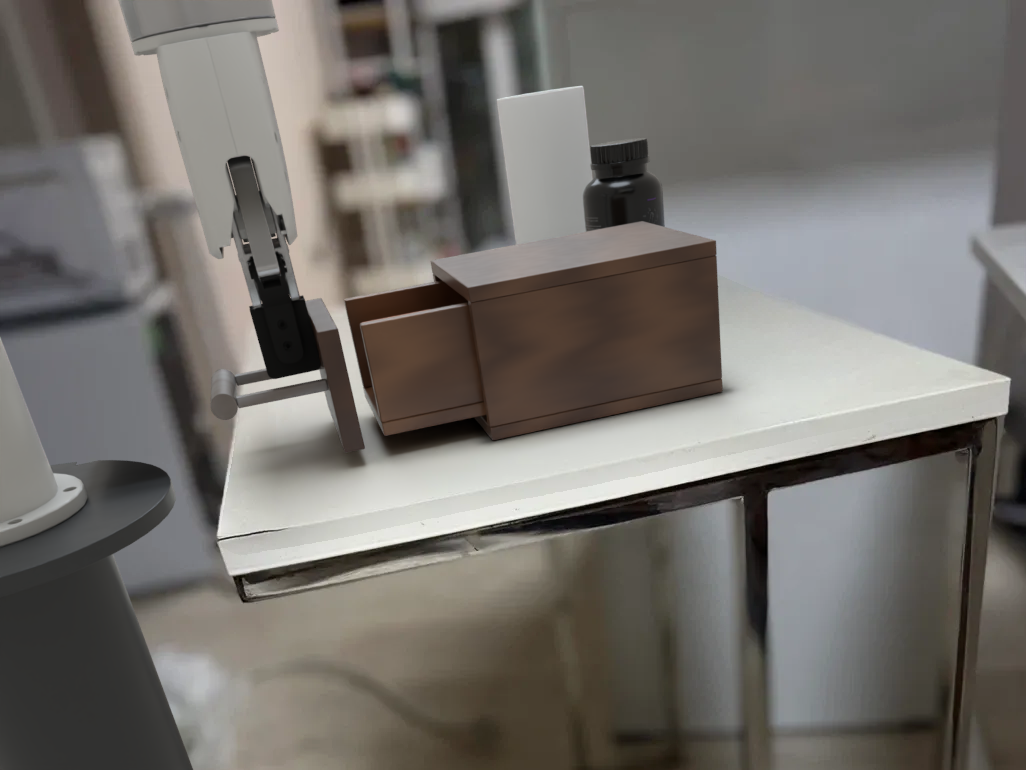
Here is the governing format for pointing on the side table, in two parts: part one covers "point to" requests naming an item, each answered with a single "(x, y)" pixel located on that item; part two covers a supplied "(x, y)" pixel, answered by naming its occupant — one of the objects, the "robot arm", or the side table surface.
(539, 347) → the cabinet
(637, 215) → the supplement bottle
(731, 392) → the side table surface
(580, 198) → the tall white panel
